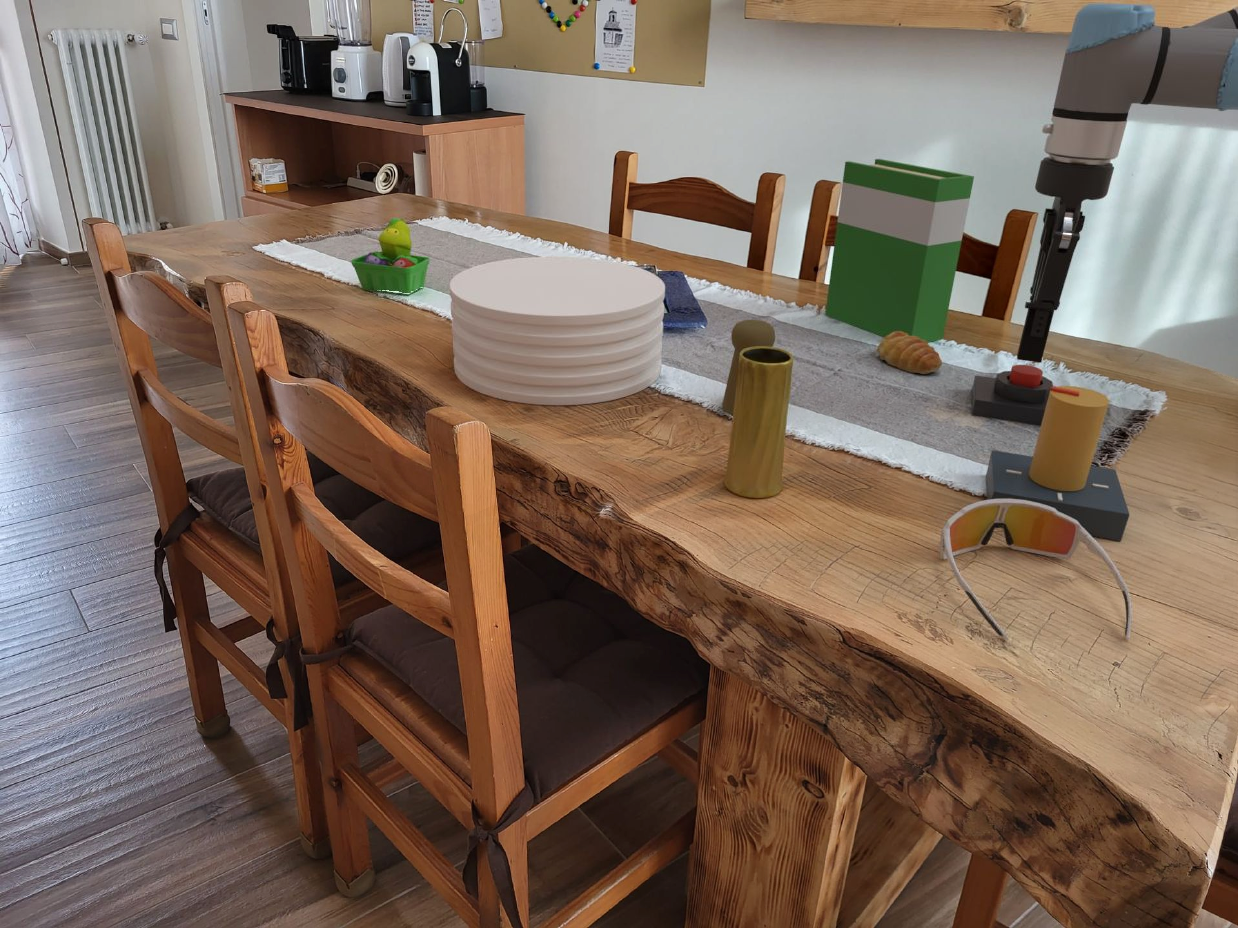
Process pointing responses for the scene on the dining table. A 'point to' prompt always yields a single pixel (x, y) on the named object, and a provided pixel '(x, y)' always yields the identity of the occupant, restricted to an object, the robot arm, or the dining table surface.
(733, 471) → the vase
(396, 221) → the fruit basket
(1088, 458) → the yellow round cylinder
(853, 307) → the green cereal box
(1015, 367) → the button
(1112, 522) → the knob panel
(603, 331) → the plate stack
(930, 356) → the pastry
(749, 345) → the pepper mill
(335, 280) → the dining table surface
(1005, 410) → the button box
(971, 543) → the sunglasses
